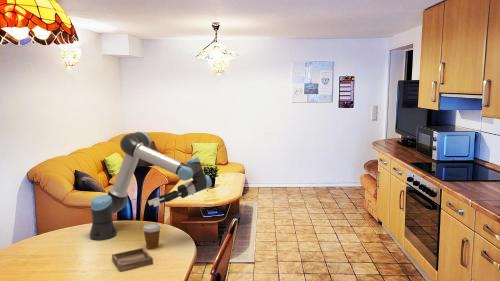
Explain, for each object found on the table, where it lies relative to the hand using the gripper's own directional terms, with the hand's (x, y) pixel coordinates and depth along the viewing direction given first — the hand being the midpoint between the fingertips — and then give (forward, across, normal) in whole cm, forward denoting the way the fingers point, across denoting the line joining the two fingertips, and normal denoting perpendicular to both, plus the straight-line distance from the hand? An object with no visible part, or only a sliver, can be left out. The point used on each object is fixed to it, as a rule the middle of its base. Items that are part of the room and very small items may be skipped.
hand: (150, 203), depth 224 cm
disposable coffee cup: (+7, +1, -23) cm, 24 cm away
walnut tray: (+21, -14, -22) cm, 33 cm away
